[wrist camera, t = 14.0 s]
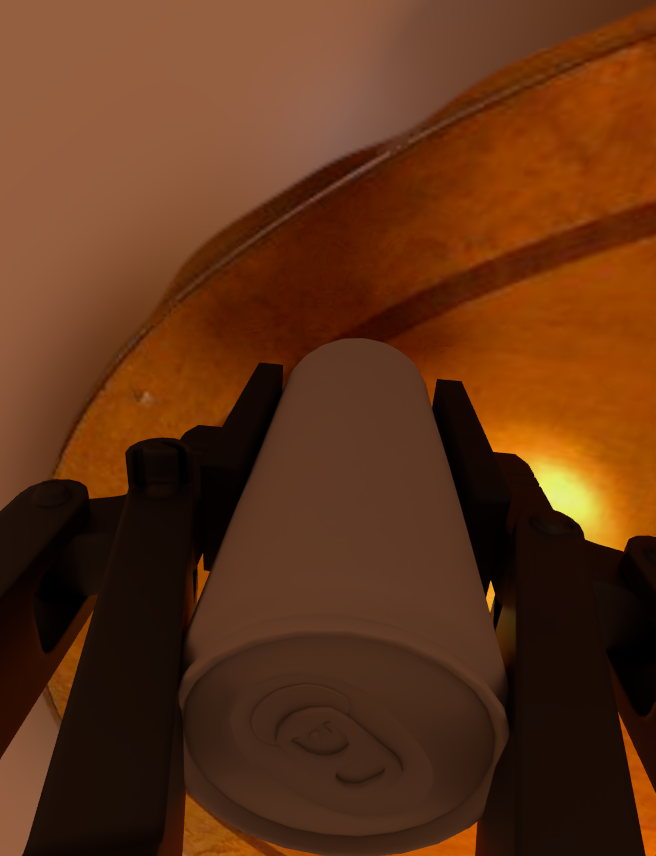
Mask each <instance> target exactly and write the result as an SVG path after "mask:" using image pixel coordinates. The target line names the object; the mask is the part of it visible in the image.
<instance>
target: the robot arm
mask: <svg viewBox="0 0 656 856" xmlns="http://www.w3.org/2000/svg"><path fill="white" fill-rule="evenodd" d="M282 383H283V365H280V364H269V363H259V364H258V366H257V367H256V369H255V371H254V373H253V374H252V376H251V378H250V380H249V381H248V383H247V385H246V387H245V388H244V390H243V392H242V393H241V395H240V397H239V399H238V400H237V402H236V404H235V406H234V407H233V409H232V411H231V413H230V414H229V416H228V418H227V420H226V421H225V423H224V425H223V426H222V427H214V426H204V425H198V426H196V427H194V428H192V429H191V430H189V431H187V432H185V433H184V435H183V436H182V438H181V439H180V440H178V439H175V438H152V439H147V440H144V441H140V442H138V443H136V444H134V445H132V446H130V447H129V449H128V450H127V451H126V453H125V455H126V465H127V475H128V484H129V489H128V492H127V494H126V495H122V496H115V497H106V498H94V499H89V495H88V491H87V487H86V486H85V485H83V484H82V483H80V482H78V481H73V480H69V479H68V480H59V479H54V480H51V481H49V480H48V481H43V482H41V483H38V484H36V485H33V486H30V487H29V488H27V489H26V490H24V491H23V492H21V493H20V494H19V495H18V496H16V497H15V498H14V499H13V500H12V501H11V502H10V503H9V504H8V505H7V506H6V507H4V508H3V509H2V510H1V511H0V759H1V757H2V755H3V754H4V752H5V751H6V749H7V747H8V746H9V744H10V743H11V741H12V739H13V738H14V736H15V735H16V733H17V731H18V730H19V728H20V726H21V725H22V723H23V722H24V720H25V718H26V717H27V715H28V714H29V712H30V711H31V709H32V707H33V706H34V704H35V703H36V701H37V699H38V698H39V696H40V695H41V693H42V691H43V690H44V688H45V687H46V685H47V683H48V682H49V680H50V679H51V677H52V675H53V674H54V672H55V671H56V669H57V667H58V666H59V664H60V663H61V661H62V659H63V658H64V656H65V655H66V653H67V651H68V650H69V648H70V647H71V645H72V643H73V642H74V640H75V639H76V637H77V635H78V634H79V632H80V631H81V629H82V627H83V626H84V624H85V623H86V621H87V619H88V618H89V616H90V615H91V613H92V611H93V610H94V611H93V615H92V618H91V622H90V625H89V629H88V632H87V636H86V639H85V643H84V646H83V650H82V653H81V657H80V660H79V664H78V667H77V671H76V674H75V678H74V681H73V685H72V688H71V692H70V695H69V699H68V702H67V706H66V709H65V713H64V716H63V719H62V723H61V726H60V730H59V733H58V737H57V740H56V744H55V748H54V751H53V755H52V758H51V761H50V765H49V769H48V772H47V776H46V779H45V782H44V786H43V789H42V793H41V797H40V800H39V803H38V807H37V811H36V814H35V817H34V821H33V825H32V828H31V832H30V835H29V839H28V842H27V844H26V847H25V850H24V853H23V855H22V856H182V851H183V834H184V816H185V799H186V787H185V781H184V738H183V721H182V707H180V705H179V694H178V688H179V684H180V682H181V680H182V648H183V641H184V637H185V633H186V630H187V628H188V625H189V623H190V620H191V618H192V616H193V613H194V611H195V608H196V606H197V589H198V571H197V565H198V563H199V560H200V558H201V556H202V554H203V561H204V570H206V571H211V568H212V566H213V563H214V561H215V558H216V556H217V553H218V551H219V548H220V546H221V543H222V541H223V538H224V536H225V533H226V531H227V528H228V526H229V523H230V521H231V518H232V516H233V514H234V511H235V509H236V506H237V504H238V501H239V499H240V496H241V494H242V491H243V489H244V486H245V484H246V481H247V479H248V476H249V474H250V471H251V469H252V466H253V464H254V461H255V459H256V456H257V454H258V451H259V449H260V446H261V444H262V441H263V439H264V436H265V434H266V431H267V429H268V426H269V424H270V421H271V419H272V417H273V414H274V412H275V409H276V407H277V404H278V402H279V399H280V397H281V394H282ZM432 410H433V414H434V417H435V421H436V424H437V427H438V431H439V434H440V437H441V440H442V444H443V447H444V450H445V454H446V457H447V460H448V463H449V467H450V470H451V474H452V477H453V481H454V484H455V488H456V491H457V495H458V499H459V502H460V506H461V509H462V513H463V517H464V520H465V524H466V528H467V531H468V535H469V539H470V542H471V546H472V550H473V553H474V557H475V561H476V564H477V568H478V572H479V575H480V579H481V582H482V586H483V590H484V593H485V597H486V596H487V592H488V588H489V584H490V581H491V582H492V585H493V588H494V592H495V597H494V601H493V604H492V608H491V612H490V615H491V619H492V623H493V626H494V630H495V634H496V637H497V641H498V645H499V648H500V652H501V656H502V659H503V663H504V667H505V671H506V674H507V678H508V683H509V693H508V699H507V704H506V709H505V713H506V716H507V720H508V724H509V727H510V734H509V737H508V740H507V743H506V745H505V747H504V749H503V751H502V754H501V756H500V758H499V760H498V762H497V764H496V766H495V769H494V773H493V777H492V781H491V785H490V789H489V793H488V796H487V800H486V804H485V808H484V812H483V815H482V817H481V818H480V819H479V820H478V821H477V836H476V852H475V856H646V855H645V850H644V845H643V840H642V835H641V829H640V824H639V819H638V814H637V809H636V803H635V798H634V793H633V788H632V783H631V777H630V772H629V767H628V762H627V756H626V751H625V746H624V741H623V736H622V730H621V725H620V720H619V715H618V712H619V714H620V716H621V719H622V721H623V723H624V725H625V727H626V729H627V732H628V734H629V736H630V738H631V740H632V742H633V745H634V747H635V749H636V751H637V753H638V756H639V758H640V760H641V762H642V764H643V766H644V769H645V771H646V773H647V775H648V777H649V779H650V782H651V784H652V786H653V788H654V790H655V792H656V537H652V536H635V537H633V538H630V539H629V540H628V543H627V545H626V547H625V550H624V552H623V551H620V550H616V549H613V548H609V547H606V546H602V545H599V544H596V543H593V542H590V541H587V540H585V538H584V533H583V531H582V529H581V527H580V525H579V524H578V523H576V522H575V521H574V520H573V519H572V518H570V517H568V516H567V515H565V514H563V513H561V512H558V511H555V510H553V508H552V506H551V505H550V503H549V501H548V499H547V497H546V496H545V494H544V492H543V490H542V488H541V487H539V483H538V481H537V479H536V478H535V477H534V474H533V472H532V470H531V468H530V466H529V465H528V464H527V463H526V462H525V461H523V460H522V459H521V458H520V457H518V456H517V455H516V454H509V453H498V452H493V451H492V448H491V446H490V444H489V442H488V440H487V437H486V435H485V433H484V431H483V428H482V426H481V424H480V422H479V419H478V417H477V415H476V413H475V410H474V408H473V406H472V404H471V402H470V399H469V397H468V395H467V393H466V390H465V388H464V386H463V384H462V381H453V380H442V379H437V382H436V388H435V394H434V399H433V405H432Z"/></svg>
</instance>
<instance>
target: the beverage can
mask: <svg viewBox="0 0 656 856" xmlns="http://www.w3.org/2000/svg"><path fill="white" fill-rule="evenodd" d="M508 693H509V683H508V678H507V674H506V671H505V667H504V663H503V659H502V656H501V652H500V648H499V645H498V641H497V637H496V634H495V630H494V626H493V623H492V619H491V615H490V612H489V608H488V604H487V601H486V597H485V593H484V590H483V586H482V582H481V579H480V575H479V572H478V568H477V564H476V561H475V557H474V553H473V550H472V546H471V542H470V539H469V535H468V531H467V528H466V524H465V520H464V517H463V513H462V509H461V506H460V502H459V499H458V495H457V491H456V488H455V484H454V481H453V477H452V474H451V470H450V467H449V463H448V460H447V457H446V454H445V450H444V447H443V444H442V440H441V437H440V434H439V431H438V427H437V424H436V421H435V417H434V414H433V410H432V407H431V403H430V400H429V396H428V392H427V388H426V384H425V382H424V380H423V378H422V376H421V374H420V372H419V370H418V368H417V366H416V365H415V364H414V363H413V362H412V361H411V360H410V359H409V358H408V357H407V356H406V355H405V354H404V353H403V352H401V351H399V350H397V349H395V348H393V347H392V346H390V345H388V344H386V343H384V342H379V341H375V340H370V339H366V338H350V339H340V340H337V341H334V342H330V343H327V344H324V345H322V346H320V347H319V348H317V349H315V350H314V351H312V352H311V353H309V354H307V355H306V356H305V357H304V358H303V359H302V360H301V361H300V362H299V364H298V365H297V366H296V367H295V368H294V369H293V371H292V373H291V375H290V377H289V379H288V381H287V383H286V385H285V387H284V389H283V392H282V394H281V397H280V399H279V402H278V404H277V407H276V409H275V412H274V414H273V417H272V419H271V421H270V424H269V426H268V429H267V431H266V434H265V436H264V439H263V441H262V444H261V446H260V449H259V451H258V454H257V456H256V459H255V461H254V464H253V466H252V469H251V471H250V474H249V476H248V479H247V481H246V484H245V486H244V489H243V491H242V494H241V496H240V499H239V501H238V504H237V506H236V509H235V511H234V514H233V516H232V518H231V521H230V523H229V526H228V528H227V531H226V533H225V536H224V538H223V541H222V543H221V546H220V548H219V551H218V553H217V556H216V558H215V561H214V563H213V566H212V568H211V571H210V573H209V576H208V578H207V581H206V583H205V586H204V588H203V591H202V593H201V596H200V598H199V601H198V603H197V606H196V608H195V611H194V613H193V616H192V618H191V620H190V623H189V625H188V628H187V630H186V633H185V637H184V641H183V648H182V680H181V682H180V684H179V688H178V694H179V705H180V707H182V721H183V738H184V781H185V787H186V788H187V790H188V791H189V793H190V794H191V795H192V796H193V797H195V798H196V799H197V800H198V801H199V802H200V803H201V804H202V805H204V806H205V807H206V808H207V809H208V810H209V811H210V812H212V813H213V814H214V815H215V816H216V817H218V818H220V819H221V820H223V821H225V822H227V823H228V824H230V825H232V826H234V827H236V828H237V829H239V830H241V831H243V832H244V833H246V834H248V835H251V836H253V837H256V838H259V839H262V840H264V841H267V842H270V843H272V844H275V845H278V846H281V847H283V848H288V849H293V850H298V851H303V852H308V853H313V854H318V855H324V856H382V855H392V854H402V853H405V852H409V851H413V850H416V849H420V848H424V847H427V846H431V845H435V844H438V843H440V842H442V841H444V840H446V839H448V838H450V837H452V836H454V835H456V834H458V833H460V832H462V831H464V830H466V829H468V828H470V827H471V826H472V825H473V824H474V823H476V822H477V821H478V820H479V819H480V818H481V817H482V815H483V812H484V808H485V804H486V800H487V796H488V793H489V789H490V785H491V781H492V777H493V773H494V769H495V766H496V764H497V762H498V760H499V758H500V756H501V754H502V751H503V749H504V747H505V745H506V743H507V740H508V737H509V734H510V727H509V724H508V720H507V716H506V713H505V709H506V704H507V699H508Z"/></svg>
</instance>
